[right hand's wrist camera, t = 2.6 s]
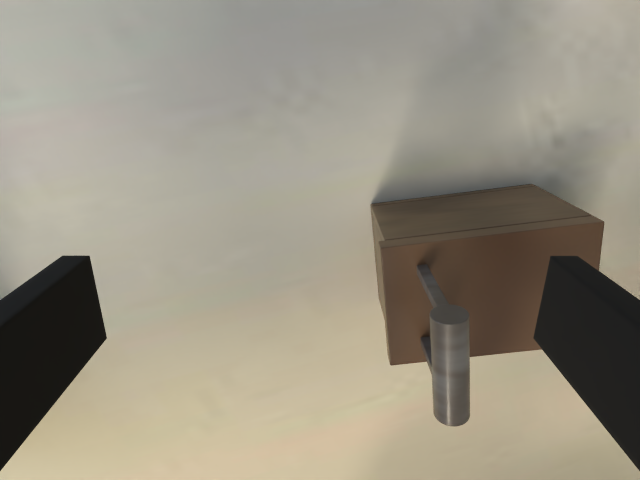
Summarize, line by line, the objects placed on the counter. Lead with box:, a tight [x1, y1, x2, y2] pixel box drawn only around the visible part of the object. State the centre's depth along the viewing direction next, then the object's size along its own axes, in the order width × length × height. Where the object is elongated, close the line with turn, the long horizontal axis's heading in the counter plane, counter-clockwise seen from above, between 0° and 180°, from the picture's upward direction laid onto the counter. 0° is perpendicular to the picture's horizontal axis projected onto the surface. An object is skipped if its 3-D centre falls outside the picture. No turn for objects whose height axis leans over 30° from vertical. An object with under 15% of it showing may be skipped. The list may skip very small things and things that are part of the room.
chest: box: [371, 184, 592, 319], centre depth 35 cm, size 14×9×9 cm
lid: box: [378, 216, 604, 426], centre depth 26 cm, size 14×9×9 cm, turn 97°
